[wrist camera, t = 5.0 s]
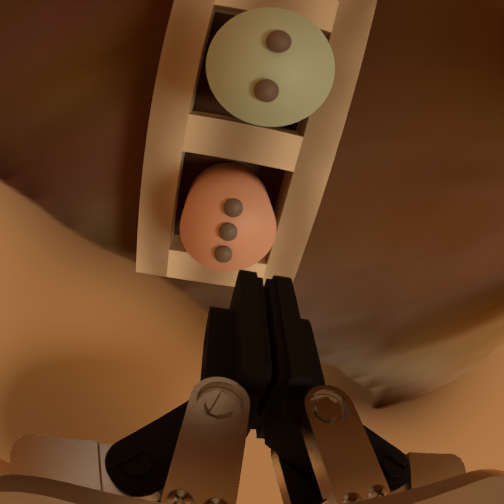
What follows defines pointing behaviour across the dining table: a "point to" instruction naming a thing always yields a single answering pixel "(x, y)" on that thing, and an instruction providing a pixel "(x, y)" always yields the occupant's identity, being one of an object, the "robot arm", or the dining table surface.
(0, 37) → the dining table surface
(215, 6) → the wooden panel frame
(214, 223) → the button three
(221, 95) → the button two
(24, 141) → the dining table surface
